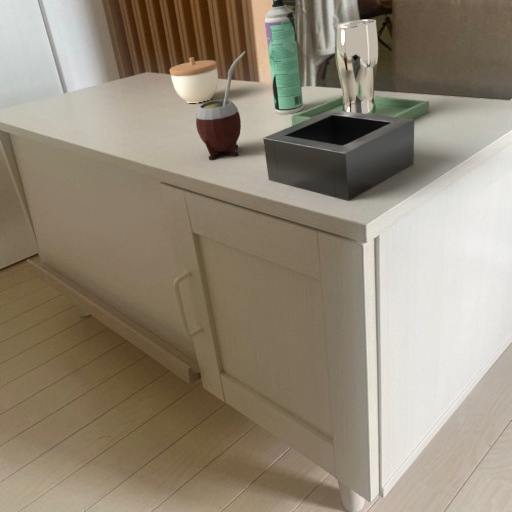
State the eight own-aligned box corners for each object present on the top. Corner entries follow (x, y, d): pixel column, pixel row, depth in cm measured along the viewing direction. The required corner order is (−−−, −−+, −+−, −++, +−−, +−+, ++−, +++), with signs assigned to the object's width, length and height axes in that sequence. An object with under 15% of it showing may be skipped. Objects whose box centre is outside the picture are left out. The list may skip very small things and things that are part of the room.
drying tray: (428, 111, 92) (429, 101, 91) (373, 138, 84) (373, 127, 83) (347, 103, 104) (347, 93, 103) (292, 126, 96) (291, 116, 95)
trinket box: (179, 109, 119) (170, 65, 114) (174, 99, 128) (165, 58, 124) (226, 100, 120) (219, 56, 116) (218, 91, 130) (211, 50, 125)
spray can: (305, 105, 107) (295, -6, 98) (300, 113, 103) (290, -3, 93) (278, 107, 109) (266, -2, 99) (272, 115, 104) (259, 2, 94)
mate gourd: (193, 158, 88) (174, 62, 80) (227, 142, 92) (212, 51, 85) (226, 163, 83) (208, 62, 76) (259, 147, 88) (246, 50, 80)
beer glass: (353, 124, 90) (348, 27, 83) (331, 116, 96) (325, 25, 88) (388, 114, 92) (386, 19, 85) (364, 107, 98) (361, 18, 90)
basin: (414, 163, 73) (414, 119, 70) (348, 200, 65) (345, 153, 62) (333, 148, 82) (331, 109, 79) (268, 179, 75) (262, 137, 72)
